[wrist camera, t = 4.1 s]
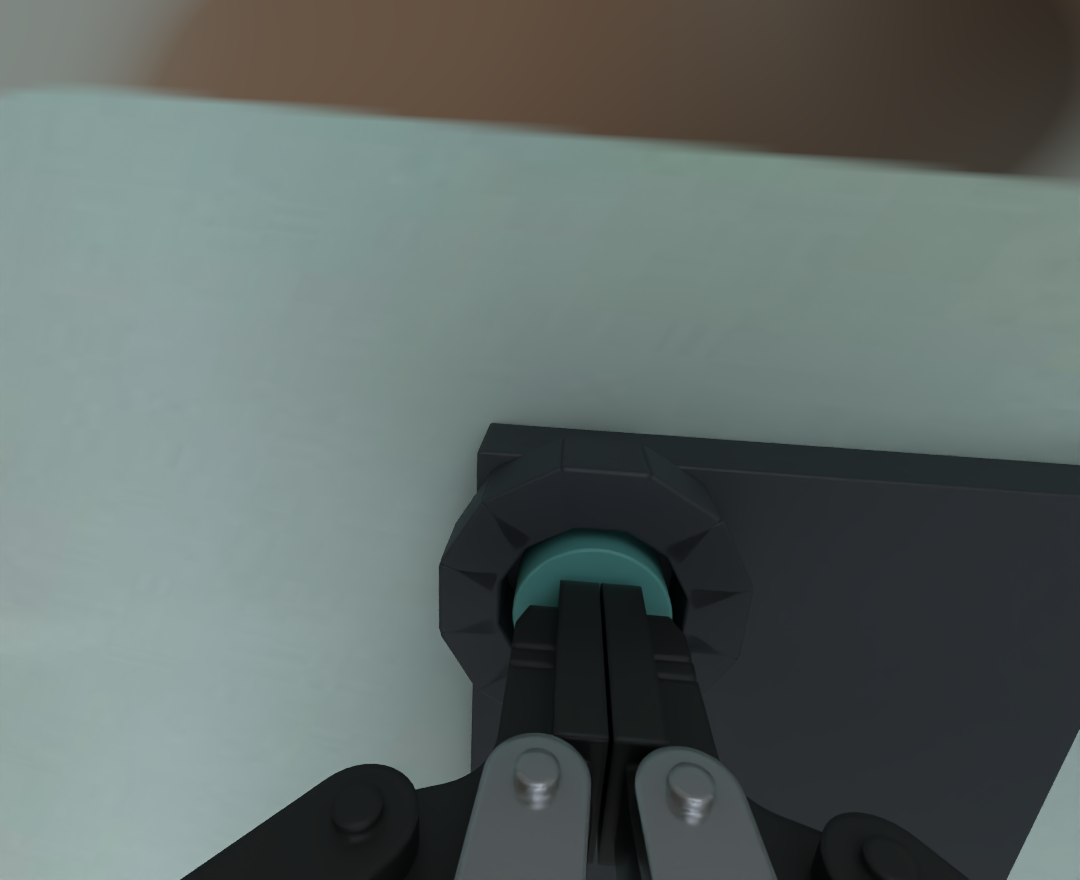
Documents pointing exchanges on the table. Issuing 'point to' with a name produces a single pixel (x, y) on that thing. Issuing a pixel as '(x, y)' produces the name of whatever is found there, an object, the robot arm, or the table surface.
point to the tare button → (590, 568)
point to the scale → (818, 615)
